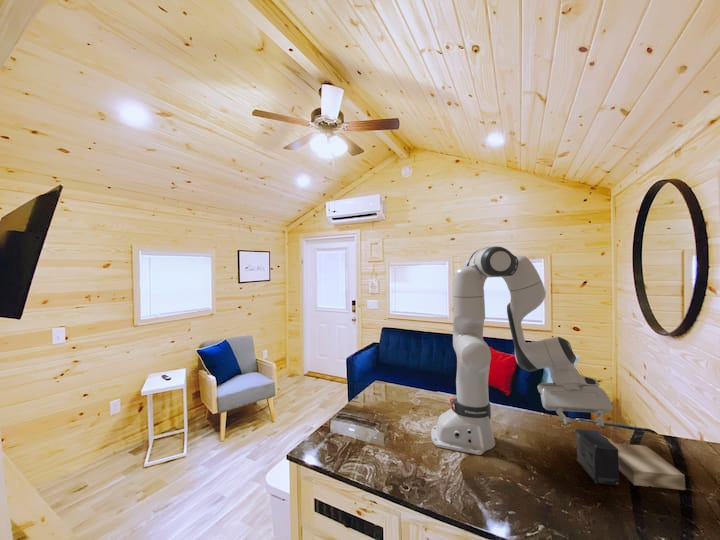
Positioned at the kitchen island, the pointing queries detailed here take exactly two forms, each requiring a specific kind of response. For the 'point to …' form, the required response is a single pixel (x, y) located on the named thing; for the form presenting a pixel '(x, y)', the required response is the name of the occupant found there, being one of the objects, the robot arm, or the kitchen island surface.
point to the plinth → (648, 467)
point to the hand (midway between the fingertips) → (584, 424)
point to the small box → (597, 457)
